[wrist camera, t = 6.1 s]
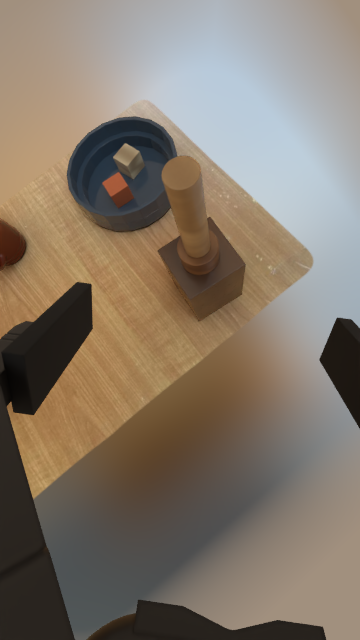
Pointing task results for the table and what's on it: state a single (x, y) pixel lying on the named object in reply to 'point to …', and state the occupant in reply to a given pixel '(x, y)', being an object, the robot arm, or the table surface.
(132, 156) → the cream block
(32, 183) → the table surface
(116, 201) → the terracotta block
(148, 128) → the bowl
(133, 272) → the table surface
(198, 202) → the pestle
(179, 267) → the stand
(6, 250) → the mug
